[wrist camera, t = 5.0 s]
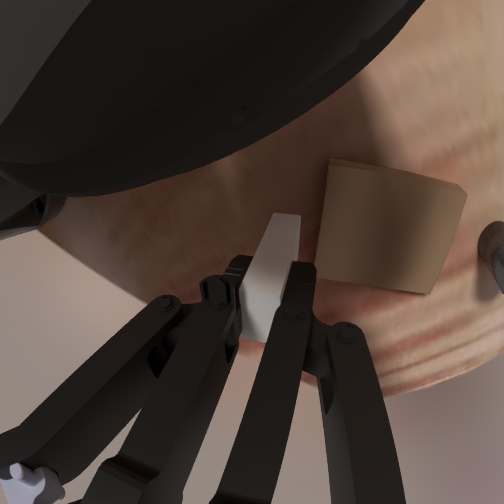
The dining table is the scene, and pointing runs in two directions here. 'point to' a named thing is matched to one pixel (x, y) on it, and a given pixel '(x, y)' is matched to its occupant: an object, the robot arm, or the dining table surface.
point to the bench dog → (493, 250)
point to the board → (385, 226)
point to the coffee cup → (167, 81)
